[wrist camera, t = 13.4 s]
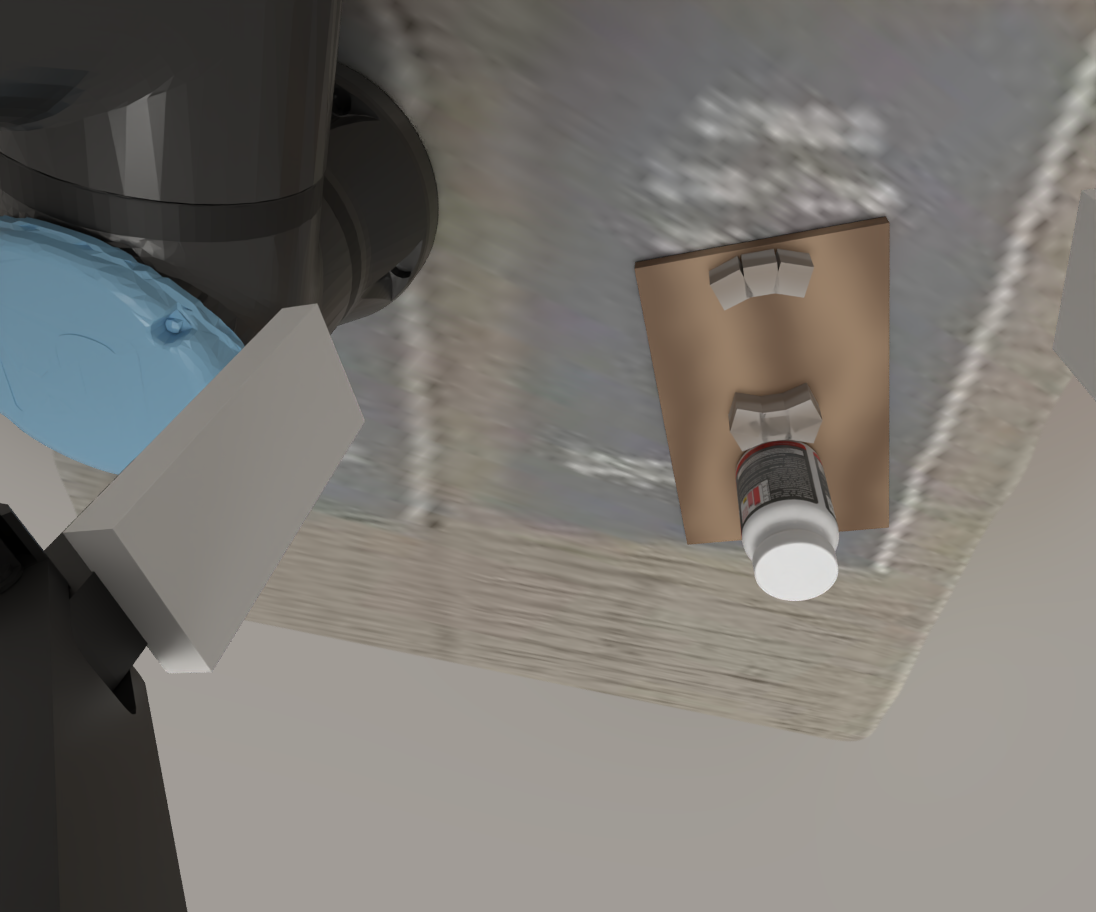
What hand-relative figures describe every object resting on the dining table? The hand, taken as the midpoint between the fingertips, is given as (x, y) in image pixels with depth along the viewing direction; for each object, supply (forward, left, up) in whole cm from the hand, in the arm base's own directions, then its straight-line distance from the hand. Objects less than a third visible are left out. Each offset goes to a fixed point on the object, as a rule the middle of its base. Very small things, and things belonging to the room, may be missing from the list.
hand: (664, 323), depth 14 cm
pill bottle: (+3, -27, -31) cm, 41 cm away
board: (+3, -22, -31) cm, 38 cm away
